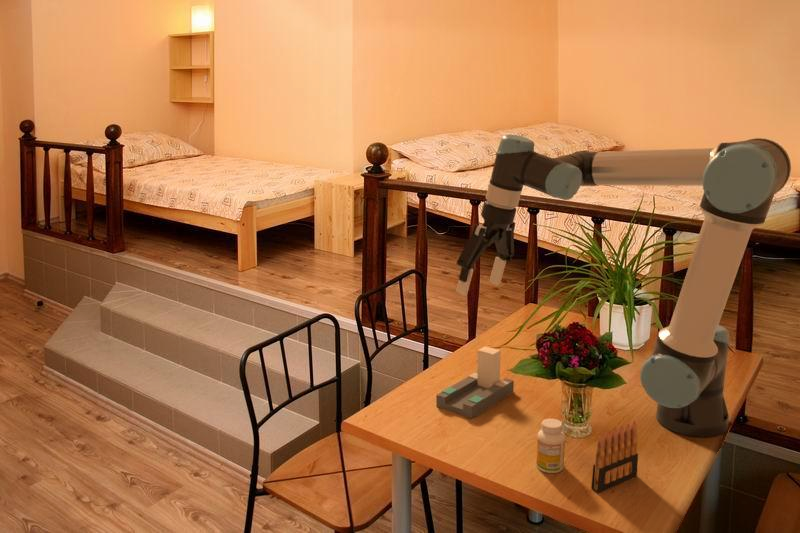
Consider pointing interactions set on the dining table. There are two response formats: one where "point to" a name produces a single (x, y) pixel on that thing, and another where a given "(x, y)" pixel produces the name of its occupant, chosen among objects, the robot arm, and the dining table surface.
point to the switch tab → (488, 367)
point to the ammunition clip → (615, 458)
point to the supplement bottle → (550, 446)
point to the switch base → (473, 396)
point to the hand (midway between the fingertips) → (478, 288)
